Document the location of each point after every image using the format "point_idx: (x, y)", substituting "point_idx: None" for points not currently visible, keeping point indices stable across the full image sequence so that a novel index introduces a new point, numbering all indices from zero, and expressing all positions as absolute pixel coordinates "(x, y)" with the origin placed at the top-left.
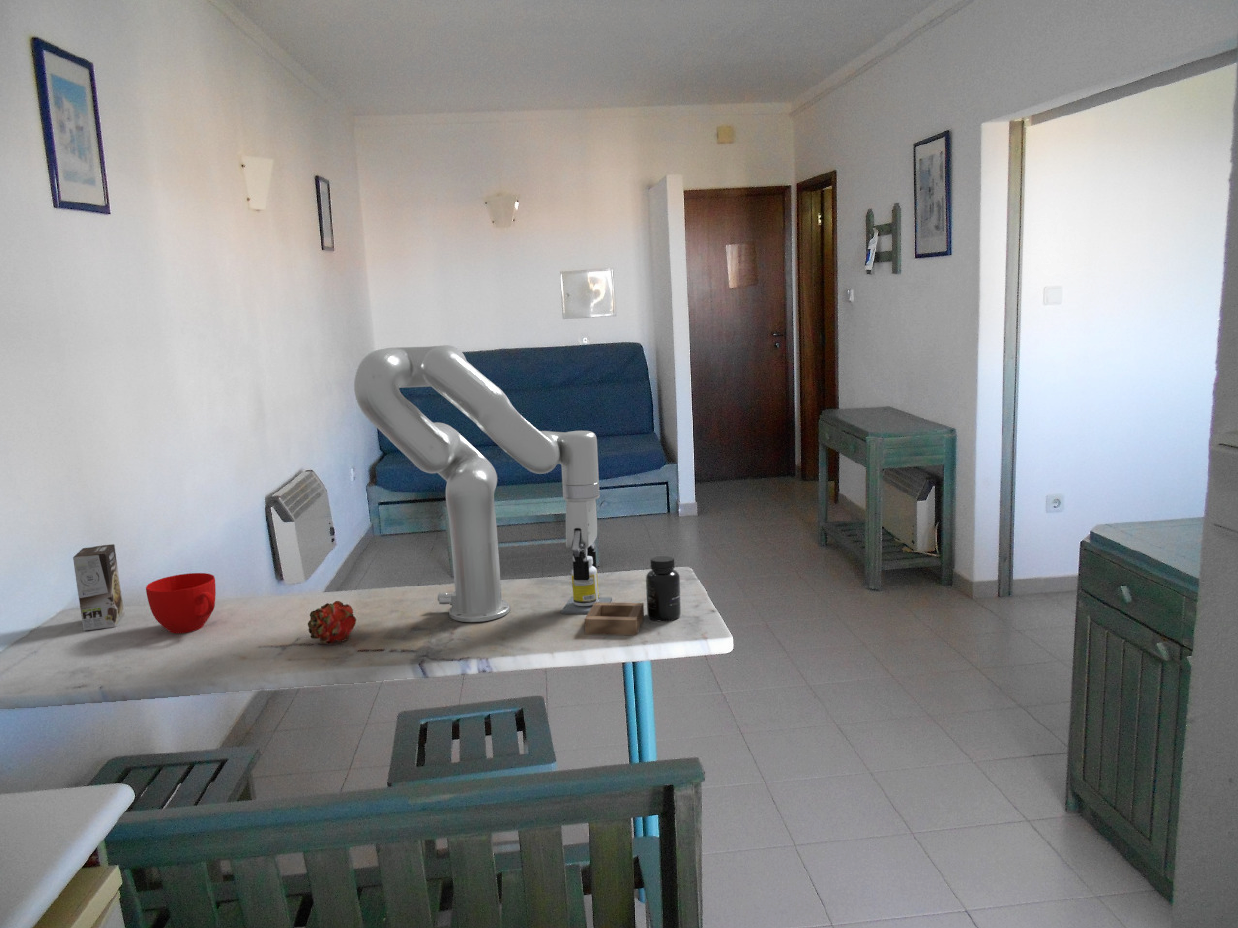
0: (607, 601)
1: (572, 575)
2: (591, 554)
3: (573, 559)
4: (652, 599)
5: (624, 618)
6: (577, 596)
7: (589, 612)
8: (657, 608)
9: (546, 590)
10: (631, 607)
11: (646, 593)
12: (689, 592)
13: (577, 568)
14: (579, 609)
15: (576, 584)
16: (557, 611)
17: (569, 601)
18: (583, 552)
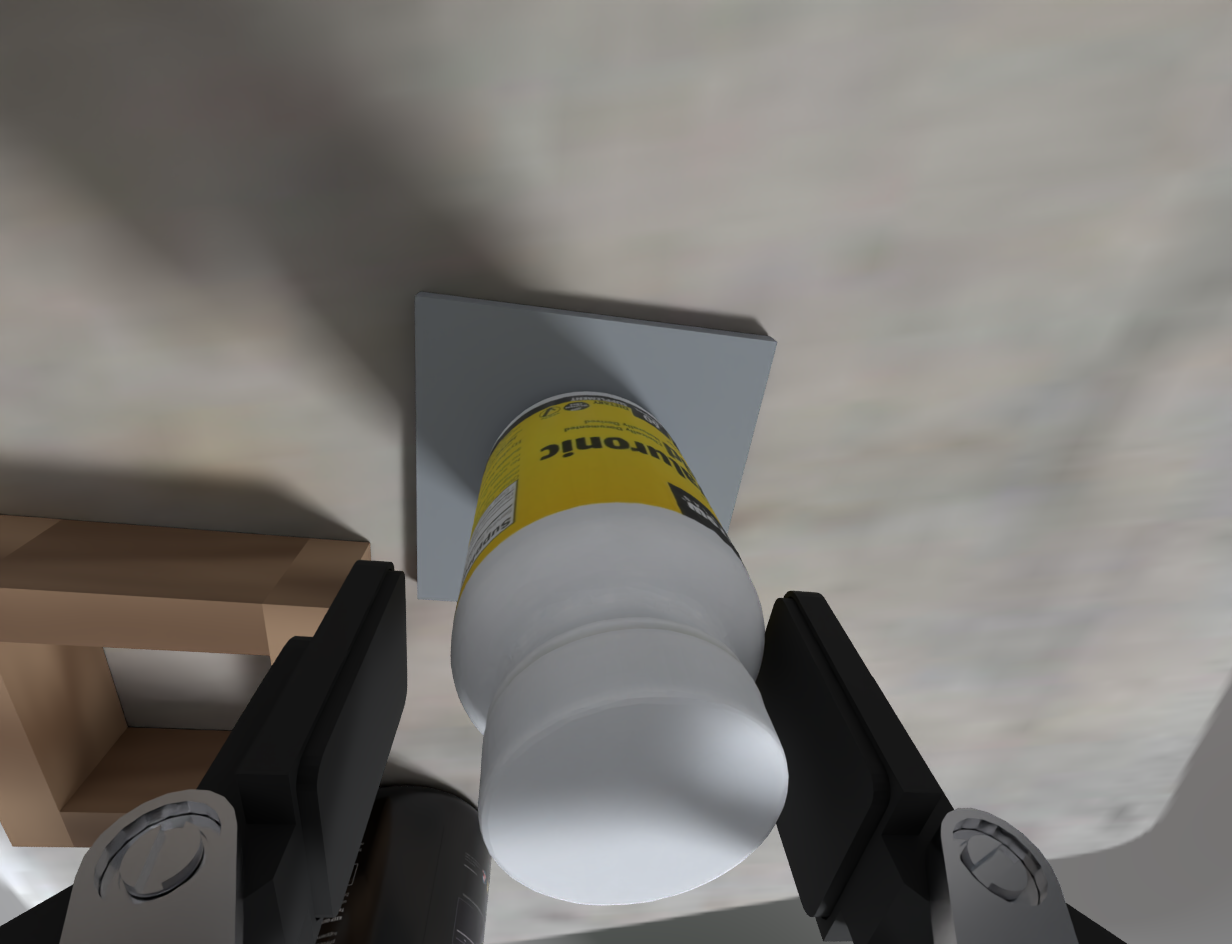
0: None
1: (527, 523)
2: (815, 869)
3: (83, 871)
4: None
5: (17, 797)
6: (493, 462)
7: (68, 596)
8: None
9: (1109, 56)
10: None
11: (345, 928)
12: (755, 887)
13: (238, 737)
14: (452, 439)
15: (484, 516)
16: (474, 248)
17: (656, 340)
18: (886, 815)
